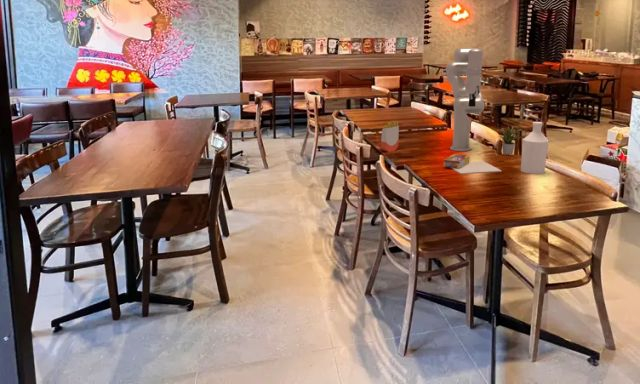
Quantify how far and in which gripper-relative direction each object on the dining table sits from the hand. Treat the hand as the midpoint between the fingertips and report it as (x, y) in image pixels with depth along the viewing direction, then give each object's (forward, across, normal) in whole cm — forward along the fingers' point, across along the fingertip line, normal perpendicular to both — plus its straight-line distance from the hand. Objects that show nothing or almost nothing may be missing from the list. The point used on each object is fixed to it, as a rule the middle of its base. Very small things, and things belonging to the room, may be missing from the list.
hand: (471, 106), depth 284 cm
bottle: (+29, +35, +19) cm, 49 cm away
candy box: (+27, +11, -9) cm, 30 cm away
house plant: (+29, -2, +26) cm, 39 cm away
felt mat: (+29, +23, -8) cm, 38 cm away
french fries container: (+29, -27, -39) cm, 56 cm away
